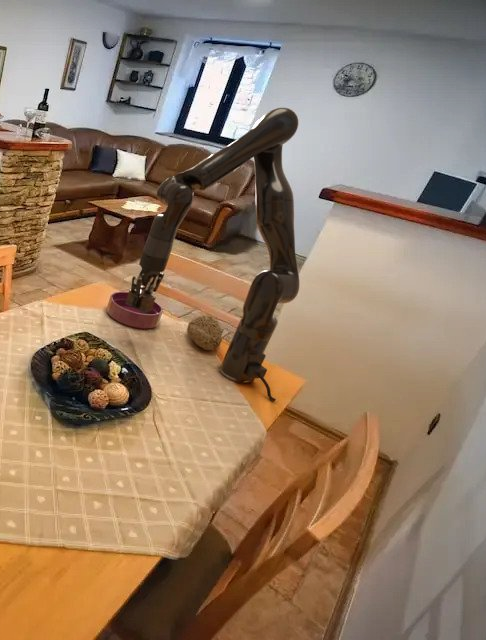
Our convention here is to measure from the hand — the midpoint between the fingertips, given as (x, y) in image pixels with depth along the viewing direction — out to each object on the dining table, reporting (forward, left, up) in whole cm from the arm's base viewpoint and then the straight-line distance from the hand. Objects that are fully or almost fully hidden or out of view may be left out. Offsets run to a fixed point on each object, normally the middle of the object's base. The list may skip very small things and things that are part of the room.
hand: (139, 306), depth 151 cm
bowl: (+17, -12, -12) cm, 24 cm away
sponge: (0, -30, -13) cm, 32 cm away
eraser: (0, 0, 0) cm, 0 cm away
